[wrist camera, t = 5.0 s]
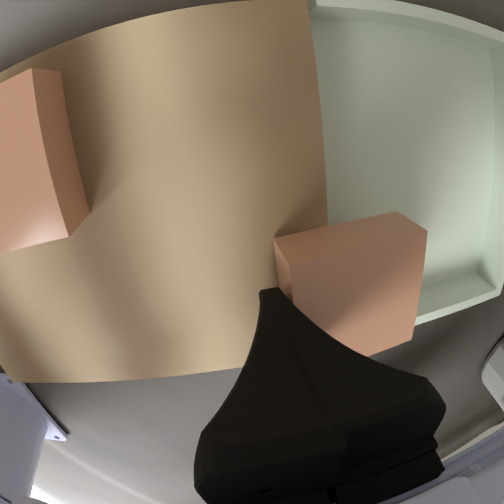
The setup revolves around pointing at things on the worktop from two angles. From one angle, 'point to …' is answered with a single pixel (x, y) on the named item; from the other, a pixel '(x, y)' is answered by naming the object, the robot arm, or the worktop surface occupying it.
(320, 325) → the tile
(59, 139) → the tile
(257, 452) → the robot arm
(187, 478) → the worktop surface
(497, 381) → the water bottle
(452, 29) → the tray
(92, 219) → the board
